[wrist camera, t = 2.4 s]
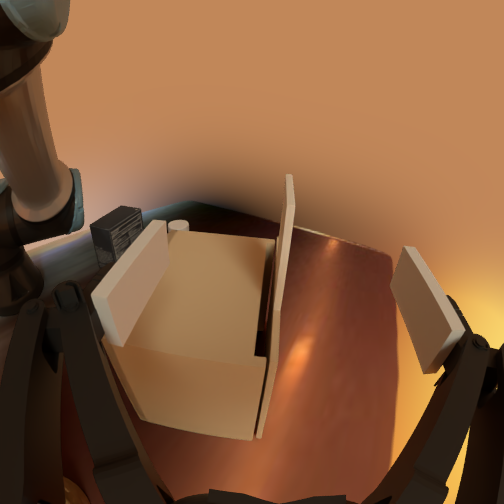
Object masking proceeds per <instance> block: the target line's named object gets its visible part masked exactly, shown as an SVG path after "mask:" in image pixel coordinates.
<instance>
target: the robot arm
mask: <svg viewBox="0 0 504 504" xmlns="http://www.w3.org/2000/svg"><path fill="white" fill-rule="evenodd" d="M69 7H70V0H0V170H1V172H2V174H3V176H4V177H5V178H3V179H0V316H10V315H14V314H16V313H19V315H18V318H17V321H16V324H15V328H14V331H13V334H12V338H11V342H10V345H9V349H8V353H7V357H6V361H5V366H4V370H3V375H2V380H1V385H0V504H66V500H65V488H64V480H63V470H62V457H61V435H60V405H61V382H62V369H63V358H64V357H65V362H66V367H67V372H68V377H69V382H70V386H71V390H72V394H73V398H74V402H75V406H76V410H77V413H78V417H79V420H80V424H81V427H82V430H83V433H84V436H85V439H86V442H87V445H88V448H89V451H90V454H91V456H92V459H93V462H94V469H93V475H94V478H95V481H96V484H97V486H98V488H99V491H100V493H101V495H102V497H103V499H104V502H105V504H277V503H273V502H269V501H266V500H262V499H259V498H256V497H252V496H249V495H246V494H243V493H234V492H227V491H220V490H213V489H209V494H198V495H192V496H188V497H185V498H182V499H179V500H177V501H175V500H174V498H173V496H172V495H171V493H170V492H169V490H168V489H167V487H166V486H165V484H164V483H163V481H162V480H161V478H160V477H159V475H158V473H157V472H156V470H155V468H154V466H153V464H152V462H151V461H150V459H149V457H148V455H147V453H146V451H145V449H144V447H143V445H142V443H141V441H140V439H139V437H138V435H137V433H136V430H135V428H134V426H133V424H132V422H131V419H130V417H129V415H128V412H127V410H126V408H125V405H124V403H123V401H122V398H121V396H120V393H119V391H118V388H117V385H116V383H115V380H114V377H113V375H112V372H111V369H110V366H109V363H108V360H107V357H106V354H105V351H104V348H103V345H102V343H101V339H102V338H103V336H104V334H105V337H106V339H107V342H108V343H109V344H113V345H117V346H121V347H123V346H124V344H125V342H126V340H127V339H128V337H129V335H130V333H131V331H132V329H133V327H134V325H135V324H136V322H137V320H138V318H139V316H140V315H141V313H142V311H143V309H144V307H145V306H146V304H147V302H148V300H149V298H150V297H151V295H152V293H153V291H154V290H155V288H156V286H157V285H158V283H159V281H160V279H161V278H162V276H163V274H164V273H165V271H166V269H167V268H168V266H169V264H170V260H169V251H168V240H167V229H166V221H160V220H153V221H152V222H151V223H150V224H149V225H148V226H147V227H146V228H145V230H144V231H143V232H142V233H141V234H140V235H139V236H138V238H137V239H136V240H135V241H134V242H133V243H132V244H131V246H130V247H129V248H128V249H127V250H126V251H125V253H124V254H123V255H122V256H121V257H120V259H119V260H118V261H117V262H116V263H115V262H110V263H108V264H106V265H105V266H103V267H102V268H101V269H100V270H99V271H98V273H97V275H95V276H94V277H93V279H92V280H91V281H90V282H89V283H88V285H87V286H86V287H85V288H84V290H83V291H82V289H81V286H80V284H79V283H78V282H76V281H72V280H69V281H64V282H62V283H60V284H58V285H57V286H56V287H55V288H54V289H53V291H52V297H53V300H54V302H55V305H56V307H51V308H46V306H45V303H44V302H43V300H41V299H37V298H38V297H39V295H40V293H41V292H42V289H43V285H44V282H43V278H42V276H41V273H40V271H39V269H38V268H37V267H36V266H35V264H34V263H33V262H32V260H31V259H30V257H29V256H28V254H27V253H26V251H25V249H24V246H23V245H26V244H30V243H34V242H37V241H41V240H44V239H48V238H52V237H56V236H60V235H64V234H66V235H67V234H70V233H71V232H75V231H78V230H80V229H81V228H82V227H83V225H84V209H83V194H82V184H81V176H80V172H79V170H78V169H72V168H68V167H67V166H66V165H65V164H64V163H63V162H61V161H60V160H58V158H57V154H56V150H55V146H54V142H53V138H52V133H51V129H50V124H49V119H48V114H47V109H46V103H45V97H44V92H43V84H42V77H41V69H40V64H41V63H42V62H43V61H44V59H45V58H46V57H47V55H48V54H49V52H50V50H51V47H52V44H53V39H54V38H55V37H58V36H59V35H61V34H62V33H63V32H64V30H65V28H66V25H67V22H68V16H69ZM9 185H10V186H9ZM390 288H391V290H392V293H393V295H394V297H395V300H396V302H397V304H398V307H399V309H400V312H401V314H402V316H403V319H404V322H405V324H406V327H407V329H408V332H409V334H410V337H411V340H412V343H413V345H414V348H415V351H416V354H417V357H418V360H419V363H420V365H421V368H422V371H423V374H431V373H437V371H438V370H439V369H440V367H441V366H442V365H443V366H444V368H445V372H444V373H443V374H442V376H441V377H440V378H439V379H438V381H437V382H436V383H435V385H434V386H436V385H437V387H436V389H435V391H434V393H433V396H432V397H431V399H430V402H429V404H428V406H427V408H426V410H425V412H424V413H423V416H422V417H421V419H420V421H419V423H418V425H417V427H416V429H415V430H414V432H413V434H412V435H411V437H410V439H409V440H408V442H407V444H406V445H405V447H404V449H403V450H402V452H401V454H400V455H399V457H398V458H397V460H396V461H395V463H394V464H393V466H392V467H391V469H390V470H389V472H388V473H387V475H386V476H385V477H384V479H383V480H382V482H381V483H380V484H379V486H378V487H377V488H376V489H375V490H374V492H373V493H371V494H370V495H369V496H368V497H367V498H366V499H365V500H364V501H363V502H362V503H361V504H443V503H444V501H445V499H446V497H447V494H448V490H449V488H448V487H447V486H446V481H447V479H448V477H449V475H450V472H451V470H452V468H453V466H454V464H455V462H456V460H457V457H458V455H459V453H460V450H461V448H462V445H463V443H464V440H465V438H466V435H467V432H468V430H469V427H470V431H469V438H468V445H467V451H466V457H465V463H464V468H463V473H462V477H461V481H460V486H459V490H458V494H457V497H456V501H455V504H504V343H503V344H502V346H501V347H500V349H499V350H498V349H494V348H490V346H489V344H488V342H487V341H486V339H485V338H483V337H482V336H480V335H478V334H473V332H472V330H471V328H470V326H469V325H468V323H467V321H466V319H465V318H464V316H463V314H462V312H461V310H459V307H458V305H457V304H456V302H455V301H454V300H453V299H452V298H451V297H450V296H449V295H445V293H444V291H443V290H442V288H441V286H440V285H439V283H438V282H437V280H436V278H435V277H434V275H433V274H432V272H431V271H430V269H429V268H428V266H427V265H426V263H425V261H424V260H423V258H422V257H421V255H420V254H419V253H418V251H417V250H416V248H415V247H409V246H403V249H402V252H401V255H400V258H399V261H398V264H397V267H396V270H395V272H394V275H393V278H392V281H391V283H390ZM497 387H498V388H497ZM496 388H497V389H496ZM282 504H358V503H355V502H351V501H347V500H346V495H336V496H315V497H310V498H306V499H302V500H297V501H292V502H287V503H282Z"/></svg>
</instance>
